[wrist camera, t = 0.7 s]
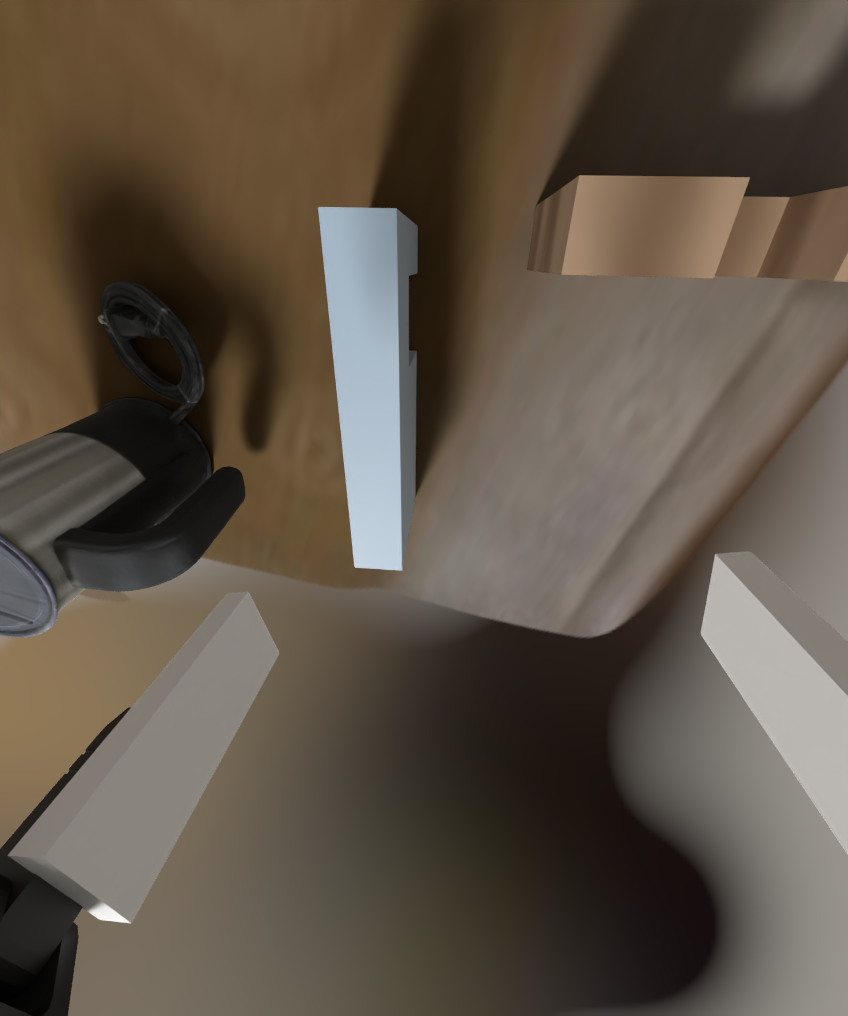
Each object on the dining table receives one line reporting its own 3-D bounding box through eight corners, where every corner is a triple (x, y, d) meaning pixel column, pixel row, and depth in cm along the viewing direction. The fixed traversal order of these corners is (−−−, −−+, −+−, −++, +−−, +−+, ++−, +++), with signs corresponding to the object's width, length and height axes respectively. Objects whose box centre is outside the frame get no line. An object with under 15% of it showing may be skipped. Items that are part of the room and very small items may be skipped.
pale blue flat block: (365, 225, 22) (317, 207, 15) (417, 226, 22) (396, 208, 15) (379, 494, 32) (354, 567, 24) (415, 496, 32) (402, 570, 24)
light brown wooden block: (527, 270, 23) (561, 274, 15) (536, 205, 21) (579, 175, 14) (811, 276, 22) (996, 285, 14) (843, 210, 20) (1070, 180, 13)
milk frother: (139, 507, 35) (-41, 646, 22) (6, 314, 27) (-395, 362, 14) (285, 485, 32) (176, 627, 20) (189, 266, 24) (-99, 271, 12)
